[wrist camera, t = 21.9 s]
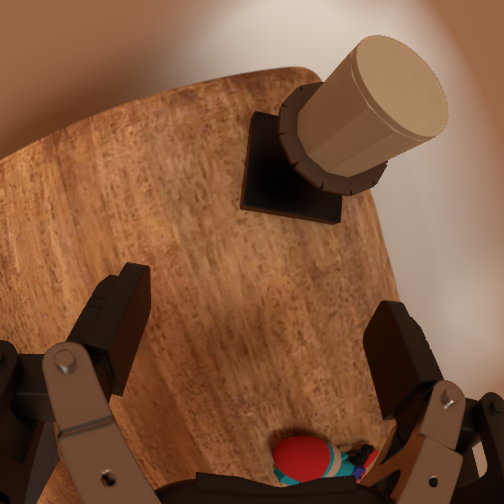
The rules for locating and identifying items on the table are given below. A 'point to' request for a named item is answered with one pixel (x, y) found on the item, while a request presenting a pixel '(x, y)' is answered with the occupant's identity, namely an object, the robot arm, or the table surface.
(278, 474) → the toy figure
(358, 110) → the hat
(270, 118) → the hat stand
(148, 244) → the table surface
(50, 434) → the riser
